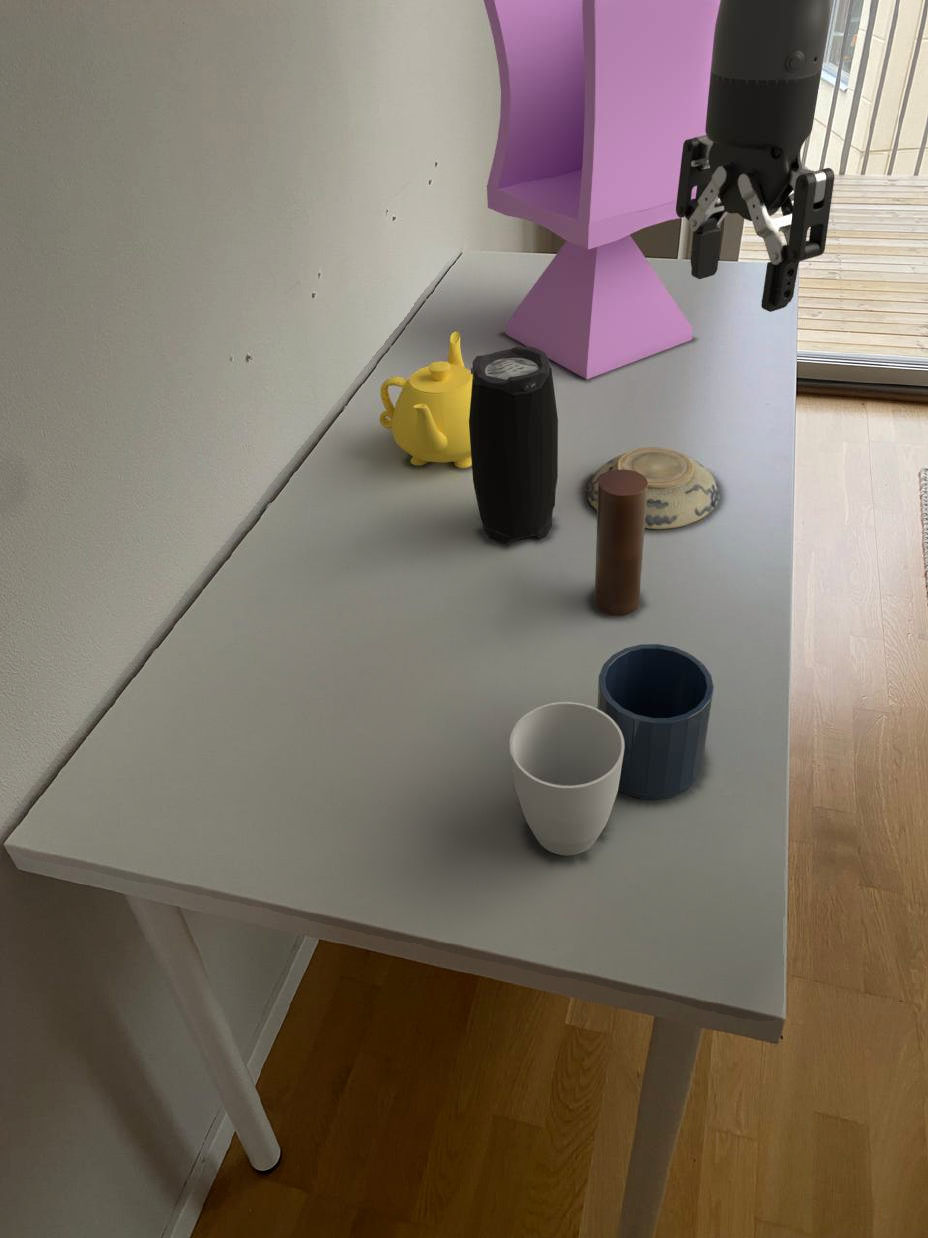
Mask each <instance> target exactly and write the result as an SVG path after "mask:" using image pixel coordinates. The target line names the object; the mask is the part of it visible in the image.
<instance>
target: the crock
mask: <svg viewBox="0 0 928 1238" xmlns="http://www.w3.org/2000/svg"><path fill="white" fill-rule="evenodd" d="M711 674H712V673H710V672H709V670H708V668H707V667H706V665H705V664H704V663H703V662H702V661H701V660H699V659H698V658H697V657H695V655H693V654H691V653H689V652H687V651H685V650H683V649H680V648H678V647H675V646H670V645H665V644H661V643H644V644H643V643H642V644H637V645H633V646H629V647H626V648H622V649H621V650H619V651H617V652H615V653H614V654H612V655H610V657H609V658H608V659H607V660H606V661H605V662H604V664H602V667H601V670H600V672H599V674H598V684H597V685H598V687H597V688H598V689H597V691H598V692H597V709H599V710H600V711H602V712H604V713H605V714H607V715H608V716H609V717H610V718H612V719H613V720H614V721H615V723H616V724H617V725H618V727H619V728H620V730H621V732H622V735H623V738H624V755H623V761H622V768H621V774H620V781H619V787H618V791H619V792H620V793H622V794H624V795H627V796H630V797H633V798H638V799H641V800H650V801H651V800H653V801H655V800H664V799H670V798H674V797H676V796H678V795H680V794H682V793H684V792H686V791H688V789H689V788H691V787H692V786H693V785H694V784H695V783H696V781H697V780H698V778H699V776H700V773H701V770H702V764H703V762H704V761H703V760H704V754H705V748H706V741H707V735H708V728H709V721H710V714H711V709H712V702H713V695H714V689H715V687H714V683H713V678H712V675H711Z"/></svg>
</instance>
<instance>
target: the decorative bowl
mask: <svg viewBox="0 0 928 1238" xmlns="http://www.w3.org/2000/svg"><path fill="white" fill-rule="evenodd" d="M620 469H625V470H632V471H636V472H638V473H640V474H642V475H643V476H645V478H646V479H647V481H648V488H647V502H646V515H645V529H650V530H670V529H677V528H683V527H685V526H688V525H691V524H694V523H696V522H698V521H700V520H702V519H704V518H705V517H706V516H708V515H709V514H710V513H712V511H714V509H715V508H716V507H717V505H718V503H719V501H720V488H719V486H718V482H717V481H716V479H715V478H714V476H713V475H712V473H711V472H710V470H708V468H706V467H705V466H704V465H703V464H702V463H701V462H699V461H697V460H695V459H694V458H692V457H691V456H689V455H685V454H683V453H681V452H679V451H676V450H673V449H669V448H666V447H657V446H647V447H640V448H639V447H638V448H636V449H632V450H630V451H627V452H625V453H622V454H620V455H617V456H615V457H613V458H612V459H610V460H609V461H607V462H606V463H605V464H604V465H602V466H601V467H600V468H599V469H598V470H597V471H596V472H595V473H594V475H593V476H592V477H591V478H590V479H589V481H588V483H587V486H586V489H585V490H586V492H587V494H586V495H587V500H588V502H589V504H590V505H591V506H592V507H593V508H594V509H595V510H596V511H597V510H598V482H599V479H600V477H601V476H602V475H604V474H605V473H607V472H609V471H613V470H620Z"/></svg>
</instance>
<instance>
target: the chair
mask: <svg viewBox="0 0 928 1238" xmlns="http://www.w3.org/2000/svg"><path fill="white" fill-rule="evenodd" d="M483 3H484V7H485V11H486V15H487V18H488V22H489V26H490V30H491V34H492V38H493V43H494V50H495V54H496V60H497V66H498V74H499V75H498V76H499V86H500V115H499V116H500V117H499V124H498V131H497V132H498V133H497V138H496V139H497V140H496V144H495V150H494V155H493V158H492V164H491V166H490V167H491V168H490V171H489V176H488V180H487V184H486V197H487V199H486V200H487V209H490V210H492V211H494V212H496V213H499V214H501V215H504V216H507V217H512V218H516V219H522V220H527V221H528V222H531V223H533V224H536V225H538V226H541V227H543V228H545V229H547V230H549V231H550V232H552V233H553V234H555V235H557V236H558V237H560V238H561V239H563V240H564V241H565V242H564V244H563V245H562V246H561V247H560V249H559V251H557V253H556V254H555V256H554V257H553V259H552V260H551V261H550V262H549V264H548V265H547V267H546V268H545V269H544V270H543V272H542V273H541V275H540V276H539V278H538V279H536V281H535V283H534V284H533V286H532V287H531V288H530V290H529V291H528V292H527V294H526V295H525V297H524V298H523V299H522V301H521V302H520V303H519V305H518V306H517V307H516V309H515V311H513V313H512V314H511V316H510V317H509V319H508V320H507V321H506V322H505V335H506V336H508V337H509V338H512V339H513V340H515V341H517V342H519V343H521V344H523V345H524V346H526V347H535V348H537V349H539V350H541V351H543V352H545V354H546V355H547V357H548V359H549V360H551V361H553V362H554V363H556V364H558V365H560V366H562V367H564V368H565V369H567V370H569V371H570V372H573V373H575V374H576V375H578V376H580V377H581V378H583V379H585V380H589V379H593V378H595V377H597V376H600V375H602V374H605V373H608V372H611V371H614V370H615V369H619V368H622V367H625V366H627V365H629V364H632V363H634V362H637V361H640V360H643V359H645V358H648V357H650V356H653V355H655V354H658V353H661V352H664V351H666V350H669V349H672V348H674V347H677V346H679V345H682V344H685V343H688V342H690V341H692V340H693V333H694V328H693V326H692V325H691V324H690V322H689V320H688V319H687V317H686V316H685V315H684V313H683V312H682V310H681V309H680V307H679V306H678V304H677V303H676V300H674V298H673V297H672V295H671V293H669V291H668V290H667V288H666V286H665V285H664V283H663V282H662V280H661V279H660V277H659V276H658V274H657V273H656V272H655V270H654V268H653V267H652V266H651V264H650V263H649V261H648V259H647V258H646V256H645V255H644V254H643V252H642V250H641V249H640V248H639V246H638V245H637V243H636V241H634V238H633V237H632V236H631V235H632V234H634V233H637V232H638V231H640V230H643V229H646V228H649V227H651V226H655V225H658V224H662V223H664V222H667V221H672V220H677V219H687V218H686V217H682V218H680V217H678V215H677V213H676V202H677V194H678V185H679V177H680V168H681V159H682V151H683V144H684V142H685V140H688V139H692V138H694V137H699V136H703V135H706V132H705V127H706V116H707V105H708V94H709V84H710V72H711V62H712V51H713V40H714V31H715V24H716V19H717V14H718V10H719V5H720V0H483ZM696 190H697V186H695V187H694V188H693V189H692V195H691V199H695V198H696Z"/></svg>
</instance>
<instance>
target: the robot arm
mask: <svg viewBox="0 0 928 1238" xmlns="http://www.w3.org/2000/svg"><path fill="white" fill-rule="evenodd" d="M830 5H831V0H720V5H719V10H718V14H717V19H716V24H715V31H714V40H713V51H712V62H711V72H710V84H709V94H708V105H707V116H706V127H705V132H706V135H703V136H699V137H694V138H692V139H688V140H685V142H684V144H683V151H682V159H681V168H680V177H679V185H678V194H677V202H676V213H677V215H678V217H680V218H679V219H683V218H682V217H686V218H685V219H686V220H687V221H688V227H689V229H690V230H691V231H692V240H691V251H690V252H691V253H690V267H691V272H690V273H691V276H692V277H693V278H696V279H697V280H702V279H705V278H709V277H712V276H714V275H716V273H717V271H718V269H719V268H718V267H719V266H718V265H719V259H720V250H721V249H720V248H721V242H722V241H721V240H722V232H723V229H722V228H720V227H718V225H720V224H721V223H722V222H723V221H724V219H725V218H726V216H727V215H728V214H738V215H739V216H740V217H741V218H743V219H744V220H747V221H749V222H752V226H753V228H754V232H755V235H756V236H758V237H759V238H762V240H763V243H764V246H765V249H766V252H767V255H768V258H769V261H768V262H767V264H766V269H765V277H764V282H763V283H764V285H763V289H762V290H763V291H762V298H761V306H760V307H761V309H763V310H764V311H767V312H769V313H771V312H776V311H778V310H781V309H784V308H786V307H787V306H788V305H789V303H791V302H792V300H793V298H794V293H795V289H796V282H797V276H798V270H799V265H800V262H803V261H806V260H807V261H808V260H809V259H810V260H811V259H812V258H816V257H820V256H822V255H824V253H825V250H826V243H827V238H828V237H827V235H828V230H829V229H828V228H829V222H830V214H831V206H832V199H833V193H834V184H835V172H834V170H833V169H832V168H830V167H825V168H822V169H818V170H811V169H807V168H803V165H802V159H801V152H802V148H803V146H804V144H805V142H806V140H807V139H808V137H810V135H811V134H812V131H813V127H814V122H815V114H816V109H817V108H816V107H817V101H818V97H819V96H818V95H819V89H820V84H821V79H822V78H821V77H822V70H823V64H824V59H825V58H824V57H825V53H826V45H827V39H828V34H829V33H828V32H829V24H830V15H831V14H830V13H831V12H830V10H831V9H830V7H831V6H830ZM695 186H697V190H696V198H695V199H691V195H692V189H693V188H694V187H695ZM779 210H781V213H782V214H781V215H782V216H779V217H775V218H773V217H771V216H774V215H775V214H776V213H777V212H778V211H779ZM808 230H809V236H808ZM780 232H782V233H783V236H784V239H785V243H786V244H783V241H782V238H781V235H780ZM807 237H808V240H807Z"/></svg>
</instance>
